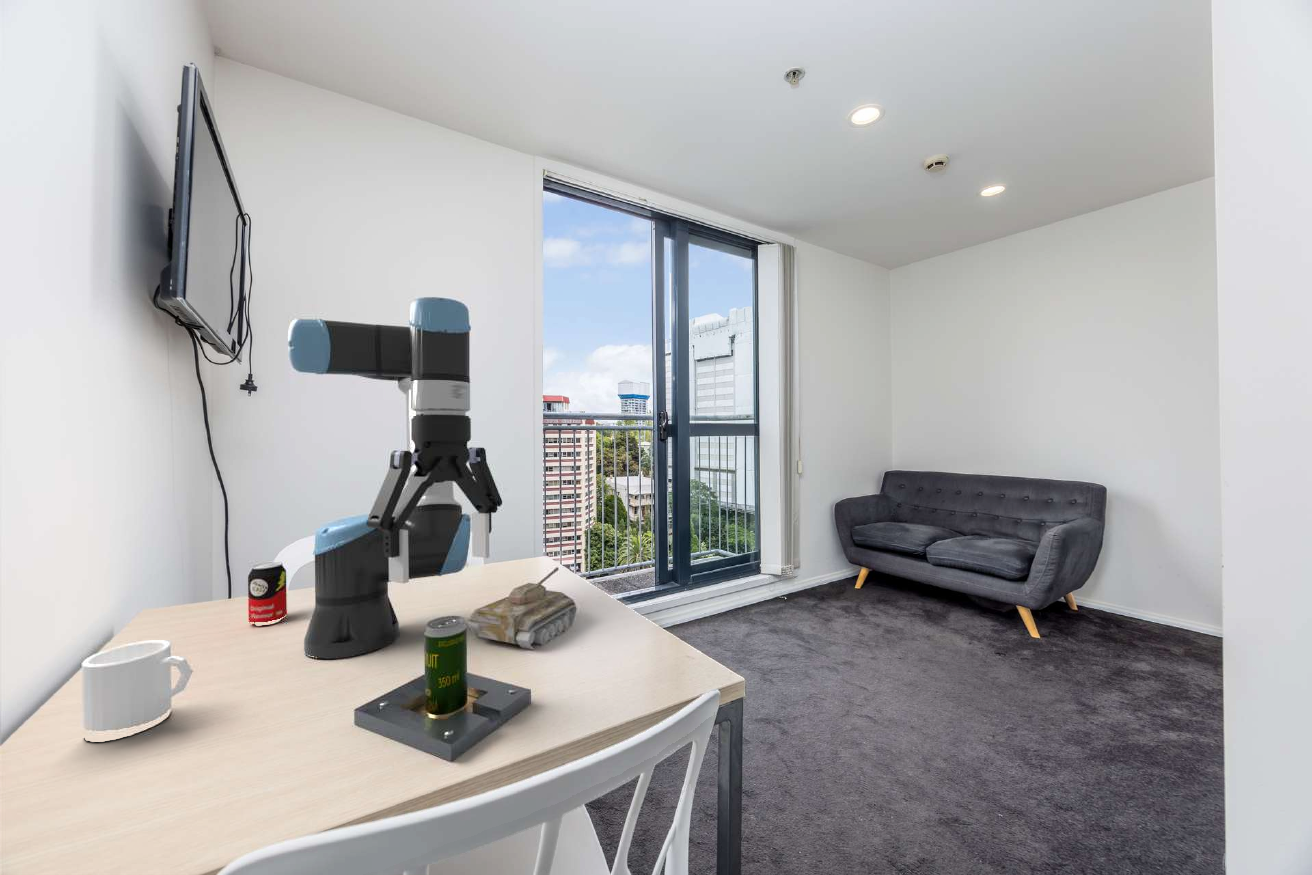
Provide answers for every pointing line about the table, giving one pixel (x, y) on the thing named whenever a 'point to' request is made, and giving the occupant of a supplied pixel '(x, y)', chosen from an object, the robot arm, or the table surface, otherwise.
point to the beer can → (445, 666)
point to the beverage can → (267, 592)
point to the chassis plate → (445, 737)
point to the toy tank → (525, 616)
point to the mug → (130, 685)
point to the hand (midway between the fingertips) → (443, 568)
